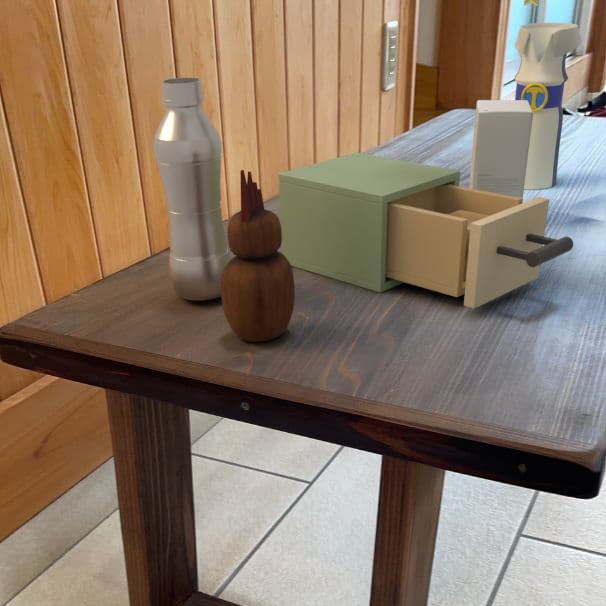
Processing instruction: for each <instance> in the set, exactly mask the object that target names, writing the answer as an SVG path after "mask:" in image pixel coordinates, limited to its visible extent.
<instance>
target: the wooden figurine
mask: <svg viewBox="0 0 606 606" xmlns="http://www.w3.org/2000/svg"><path fill="white" fill-rule="evenodd" d="M239 173H240V210H239V211H237V212H235V213H234V214H232V216H231V218H230V219H229V221H228V224H227V225H228V226H227V243H228V248H229V250H230V252H231V253H232V254H233V255H234V256H233V257H232V258H231V260H230V261H229V262H228V263H227V265H226V266H225V267H224V271H223V274H222V277H221V296H220V297H221V305H222V310H223V312H224V316H225V319H226V321H227V322H228V323H227V324H228V325H229V327H230V328H231V330H232V332H233V333H234V334H235V336H237V337H239V338H240V339H241V340H242V341H246V342H250V343H260V342H261V343H262V342H266V341H269V340H270V341H271V340H273V339H276V338H278V337H280V336H281V335H282V334H283V333H285V331H286V329H287V328H288V326H289V323H290V321H291V319H292V316H293V315H292V314H293V311H294V307H295V306H294V305H295V298H296V287H295V285H296V284H295V278H294V272H293V268H292V266H291V265H290V262H289V261H288V259H287V258H286V257H285V255H283V254H282V251H279V250H280V248H281V247H282V231H281V220H280V219H279V216H277V214H276V213H275V212H274V211H271V210H268V209H265V205H264V199H263V194H262V189H261V188H258V183H257V182H256V181H253V176H252V171H249V170H248V171H247V179H246V173H245V170H244V169H240V172H239Z"/></svg>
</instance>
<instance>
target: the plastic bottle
mask: <svg viewBox="0 0 606 606" xmlns="http://www.w3.org/2000/svg"><path fill="white" fill-rule="evenodd" d="M161 91H162V98H161V100H162V105H163V106H165V108H166V109H165V112H164V115H163V116H162V119H161V120H160V122H159V125H158V127H157V130H156V132H155V134H154V139H153V145H152V146H153V152H154V157H155V161H156V165H157V168H158V173H159V176H160V180H161V185H162V188H163V194H164V199H165V200H164V201H165V204H166V207H167V208H166V211H167V217H168V229H169V230H168V231H169V232H168V233H169V251H170V252H169V258H168V276H169V279H170V283H171V286H172V289H173V290H174V292H175V293H176V294H177V295H178V296H179V297H180V298H181V299H184V300H188V301H208V300H209V301H210V300H213V299H217V298H220V297H221V277H222V274H223V271H224V267H225V266H226V265H227V263H228V262H229V261H230V260H231V259H232V258H231V254H230V251H229V247H228V245H227V239H226V232H225V227H224V220H223V215H222V212H223V211H222V203H221V201H222V192H221V191H222V189H221V176H222V153H223V149H222V147H223V145H222V143H223V142H222V139H221V136H220V133H219V131H218V129H217V127H216V126H215V125H214V123H213V121H212V120H211V119H210V117H209V116H208V114H207V113H206V112H205V111H204V110H203V106H202V104H203V103H205V95H204V94H203V93H204V92H203V91H204V90H203V81H202V79H201V78H198V77H175V78H167V79H163V80H162V81H161Z"/></svg>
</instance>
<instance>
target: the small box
mask: <svg viewBox="0 0 606 606" xmlns="http://www.w3.org/2000/svg"><path fill="white" fill-rule="evenodd" d="M474 117H475V118H474V129H473V141H472V150H471V162H470V174H469V184H468V188H472V189H477V190H482V191H488V192H493V193H498V194H503V195H508V196H513V197H519V198H523V199H524V190H525V189H524V182H525V174H526V166H527V158H528V150H529V141H530V133H531V125H532V118H533V111H532V109H531V106H530V104H529V102H528V100H515V99H478V100H477V101H476V106H475V116H474Z"/></svg>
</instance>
